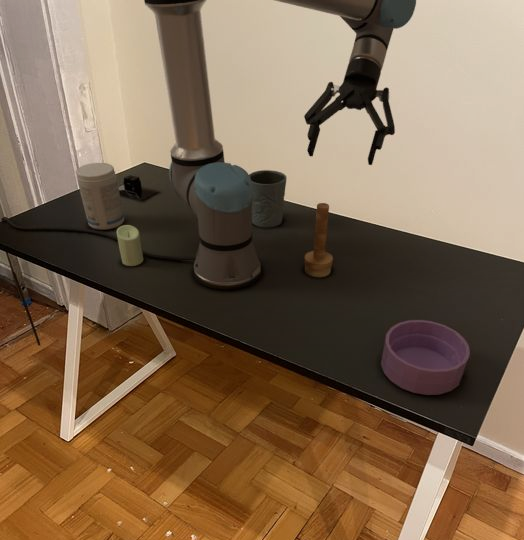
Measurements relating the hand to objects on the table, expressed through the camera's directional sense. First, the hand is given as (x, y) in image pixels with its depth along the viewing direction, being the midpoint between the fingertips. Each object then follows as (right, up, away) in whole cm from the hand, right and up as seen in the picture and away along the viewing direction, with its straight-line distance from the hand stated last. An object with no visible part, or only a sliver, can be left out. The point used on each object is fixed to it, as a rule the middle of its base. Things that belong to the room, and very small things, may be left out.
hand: (339, 157), depth 114 cm
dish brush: (-4, -24, +7) cm, 25 cm away
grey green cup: (-16, -7, +27) cm, 32 cm away
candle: (-48, -21, +10) cm, 53 cm away
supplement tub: (-59, -8, +25) cm, 64 cm away
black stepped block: (-55, +5, +41) cm, 69 cm away
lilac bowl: (+12, -46, -20) cm, 51 cm away
